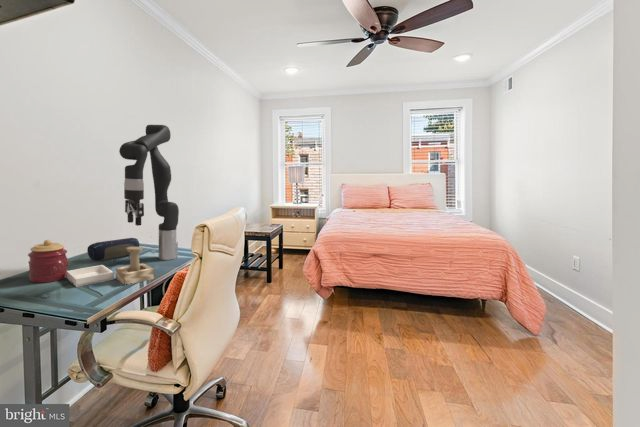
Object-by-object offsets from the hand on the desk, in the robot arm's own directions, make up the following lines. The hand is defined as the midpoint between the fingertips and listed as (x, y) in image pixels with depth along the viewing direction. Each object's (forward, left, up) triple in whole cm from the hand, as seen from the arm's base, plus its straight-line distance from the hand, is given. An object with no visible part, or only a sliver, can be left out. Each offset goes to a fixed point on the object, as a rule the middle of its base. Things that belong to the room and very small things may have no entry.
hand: (134, 223), depth 138 cm
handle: (0, 0, -27) cm, 27 cm away
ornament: (+20, -37, -27) cm, 50 cm away
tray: (+14, -12, -26) cm, 32 cm away
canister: (+26, -24, -27) cm, 44 cm away
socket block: (0, 0, -26) cm, 27 cm away
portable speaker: (-6, -40, -27) cm, 49 cm away
